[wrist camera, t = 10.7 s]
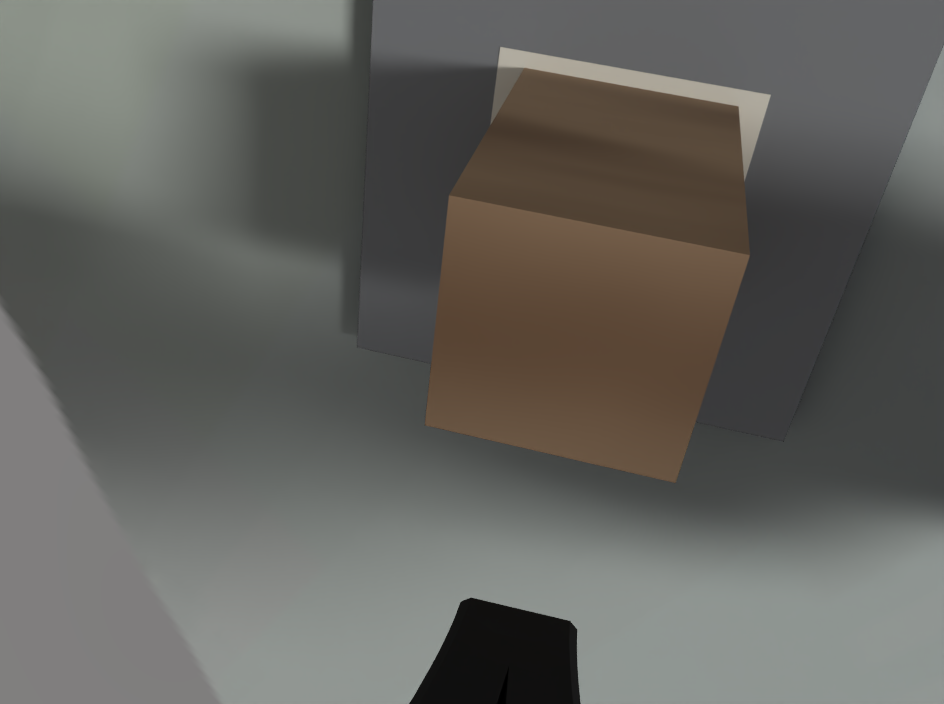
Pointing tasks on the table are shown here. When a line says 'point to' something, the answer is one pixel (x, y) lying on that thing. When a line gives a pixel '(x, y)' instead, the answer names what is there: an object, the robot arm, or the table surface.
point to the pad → (674, 72)
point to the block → (590, 272)
